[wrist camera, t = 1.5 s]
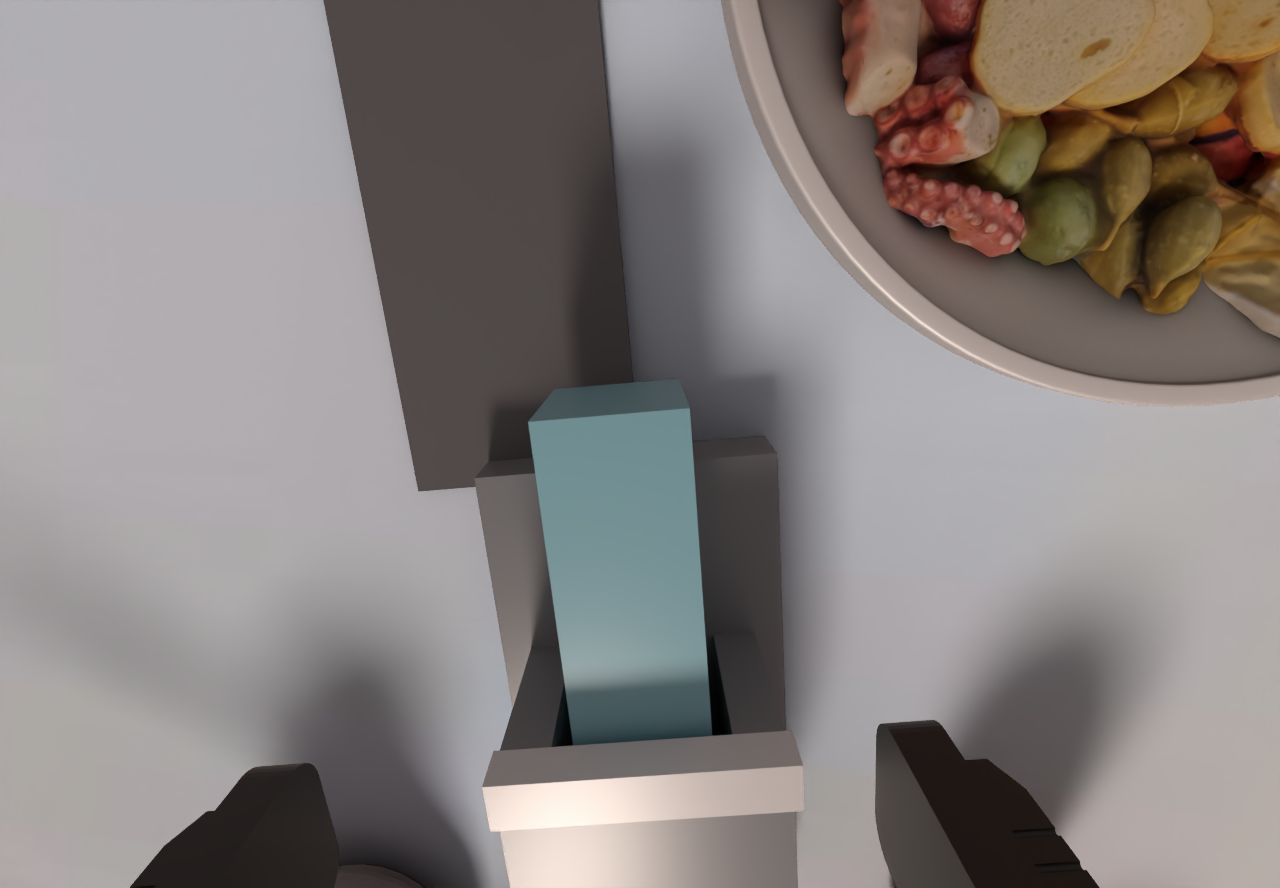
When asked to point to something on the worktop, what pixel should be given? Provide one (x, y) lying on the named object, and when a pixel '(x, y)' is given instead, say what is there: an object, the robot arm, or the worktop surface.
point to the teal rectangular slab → (624, 559)
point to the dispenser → (654, 769)
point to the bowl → (1041, 178)
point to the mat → (485, 213)
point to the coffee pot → (371, 878)
